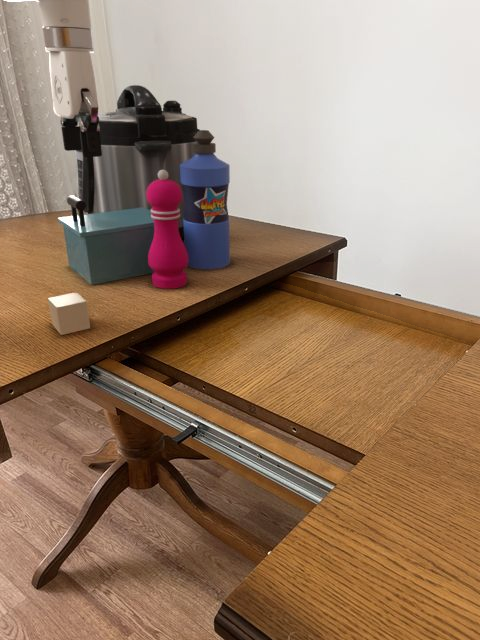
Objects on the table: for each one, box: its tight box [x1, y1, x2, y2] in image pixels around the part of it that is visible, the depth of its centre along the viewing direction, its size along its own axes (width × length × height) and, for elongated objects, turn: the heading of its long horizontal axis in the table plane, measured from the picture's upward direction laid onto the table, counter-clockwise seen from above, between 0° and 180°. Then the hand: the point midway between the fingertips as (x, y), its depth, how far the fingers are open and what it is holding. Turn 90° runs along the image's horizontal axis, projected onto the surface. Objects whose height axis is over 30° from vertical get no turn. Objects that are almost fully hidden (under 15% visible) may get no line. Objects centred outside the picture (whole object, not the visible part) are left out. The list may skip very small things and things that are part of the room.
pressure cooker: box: [74, 84, 201, 239], centre depth 124 cm, size 30×28×32 cm
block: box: [47, 292, 91, 336], centre depth 81 cm, size 4×4×4 cm
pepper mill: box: [146, 170, 189, 290], centre depth 95 cm, size 7×7×20 cm
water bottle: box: [180, 129, 231, 270], centre depth 105 cm, size 9×9×25 cm
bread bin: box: [62, 225, 155, 286], centre depth 105 cm, size 17×13×9 cm
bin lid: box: [57, 195, 155, 237], centre depth 101 cm, size 17×13×5 cm
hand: (82, 153), depth 96 cm, fingers open, 9 cm apart
